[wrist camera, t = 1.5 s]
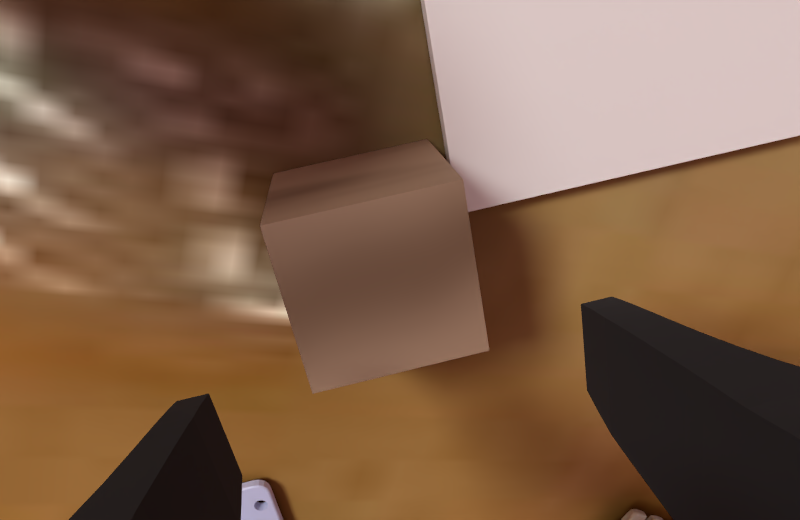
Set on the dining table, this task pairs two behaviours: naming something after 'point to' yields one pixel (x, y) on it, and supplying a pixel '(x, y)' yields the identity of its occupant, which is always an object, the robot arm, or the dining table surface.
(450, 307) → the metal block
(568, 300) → the dining table surface
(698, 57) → the ceramic tile
